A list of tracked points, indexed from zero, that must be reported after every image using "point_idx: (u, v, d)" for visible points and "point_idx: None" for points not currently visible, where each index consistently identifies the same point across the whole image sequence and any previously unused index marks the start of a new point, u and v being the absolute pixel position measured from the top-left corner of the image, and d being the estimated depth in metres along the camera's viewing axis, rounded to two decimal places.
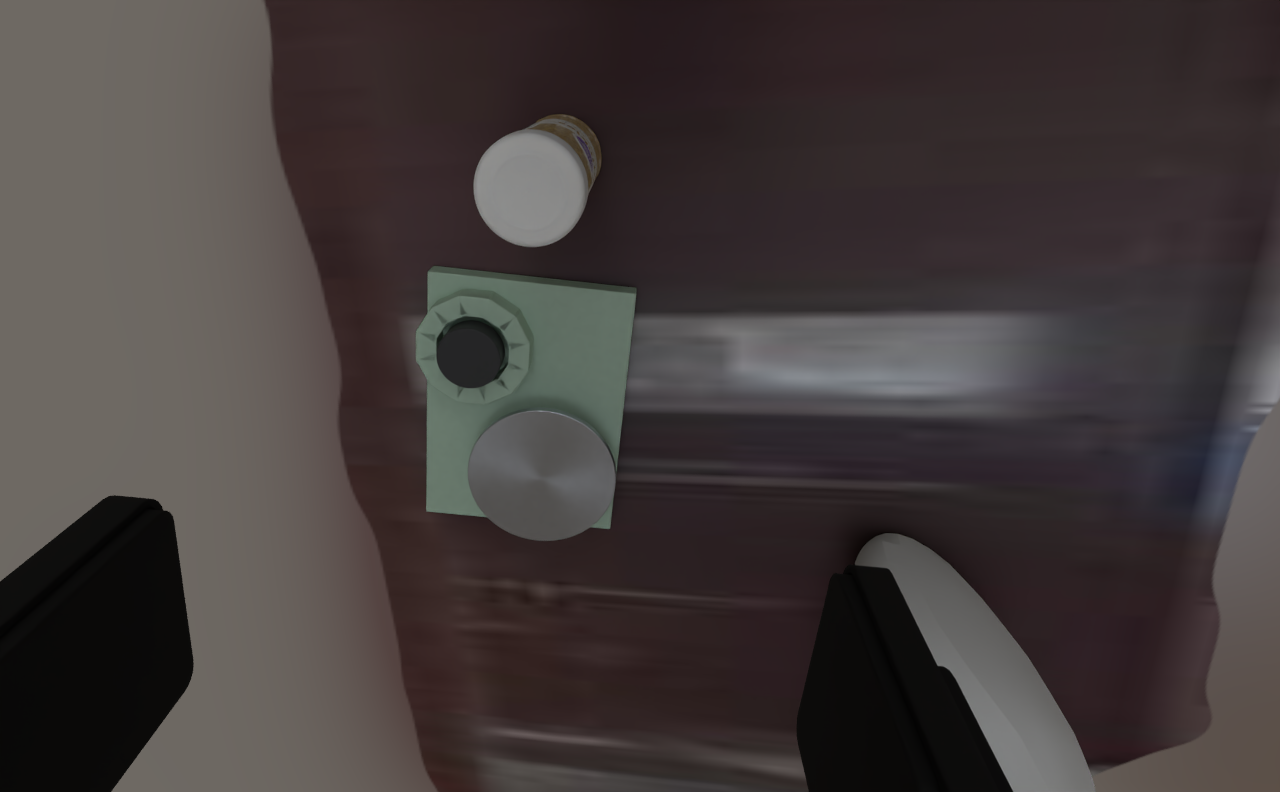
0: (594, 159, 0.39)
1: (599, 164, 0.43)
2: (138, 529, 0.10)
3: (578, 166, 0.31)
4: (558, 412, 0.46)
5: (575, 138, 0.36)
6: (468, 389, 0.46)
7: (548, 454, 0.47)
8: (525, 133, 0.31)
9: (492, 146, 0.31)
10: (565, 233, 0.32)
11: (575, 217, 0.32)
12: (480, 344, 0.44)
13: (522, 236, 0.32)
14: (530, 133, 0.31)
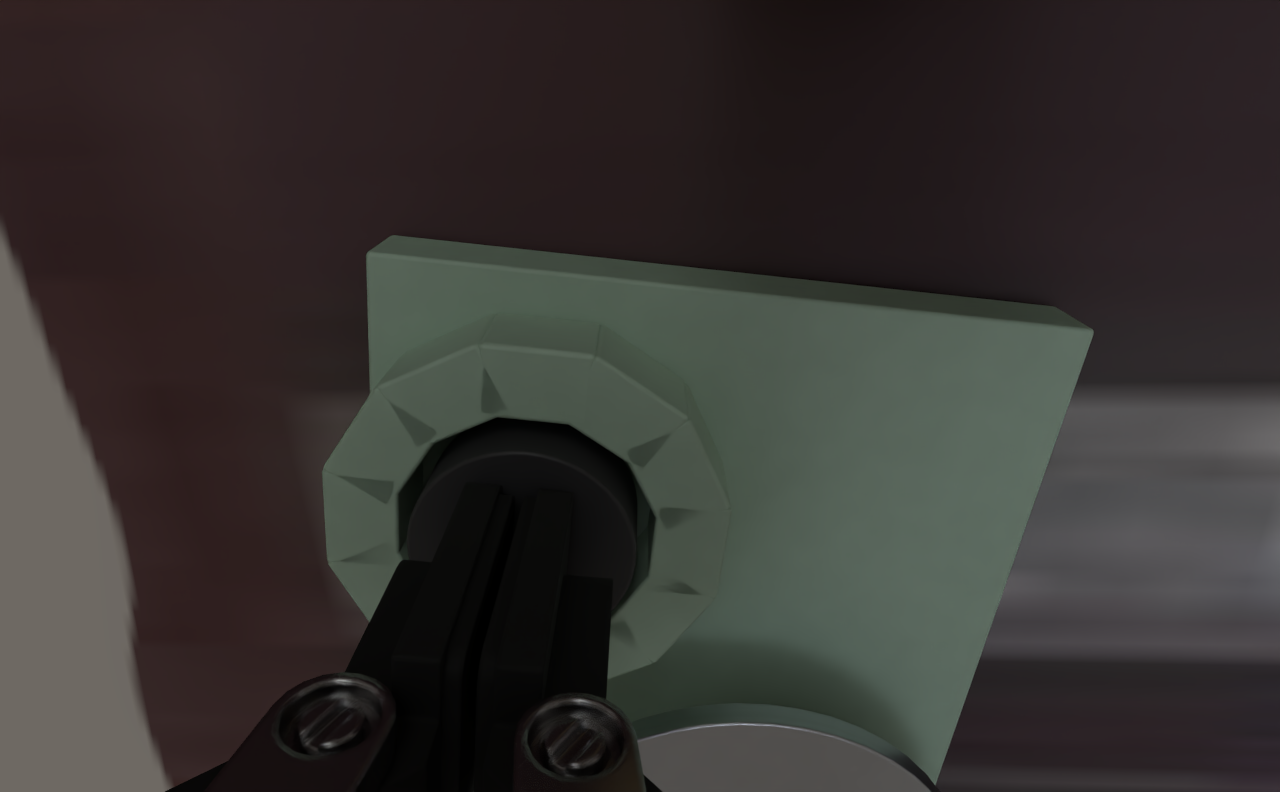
0: None
1: None
2: (504, 511, 0.11)
3: None
4: (810, 726, 0.14)
5: None
6: None
7: None
8: None
9: None
10: None
11: None
12: None
13: None
14: None
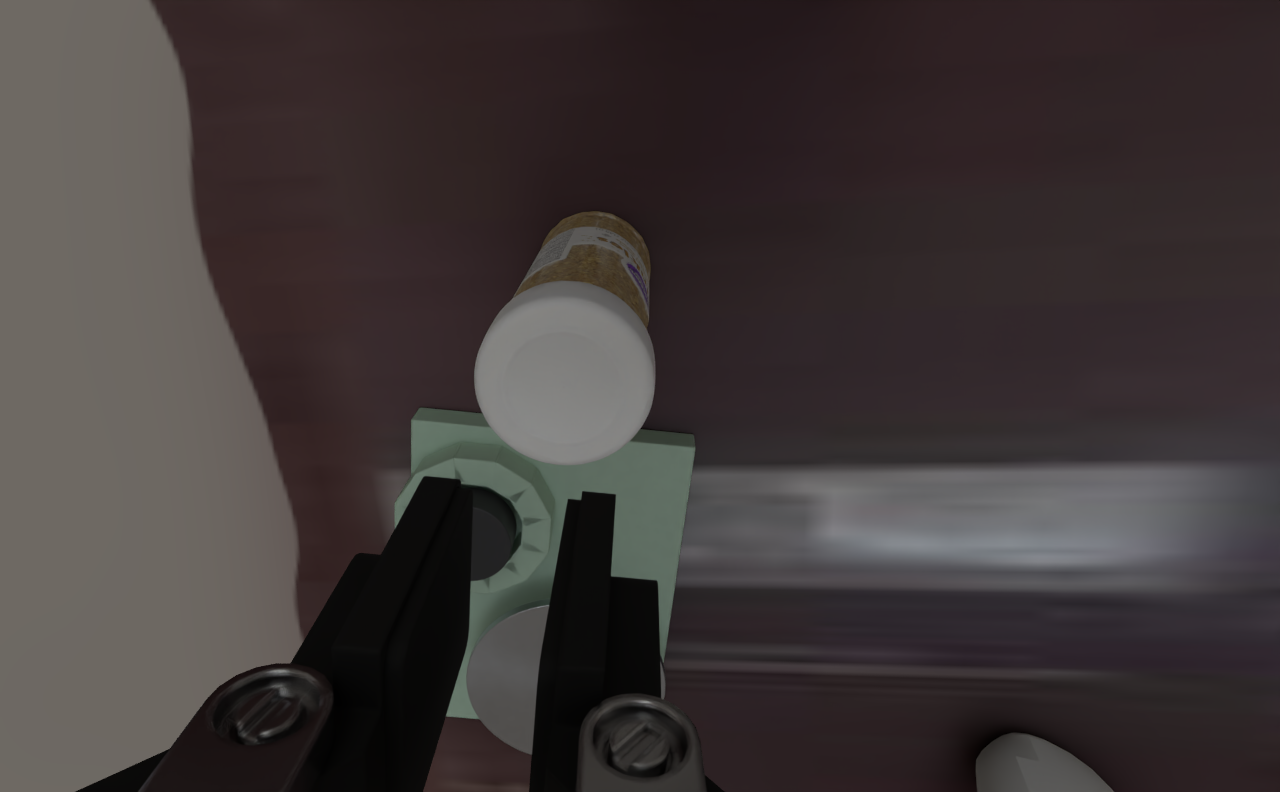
0: (648, 286, 0.27)
1: (648, 278, 0.31)
2: (460, 504, 0.11)
3: (644, 347, 0.19)
4: None
5: (626, 270, 0.24)
6: None
7: None
8: (559, 297, 0.19)
9: (505, 318, 0.19)
10: (621, 446, 0.20)
11: (638, 424, 0.20)
12: (483, 526, 0.32)
13: (552, 452, 0.20)
14: (567, 297, 0.19)
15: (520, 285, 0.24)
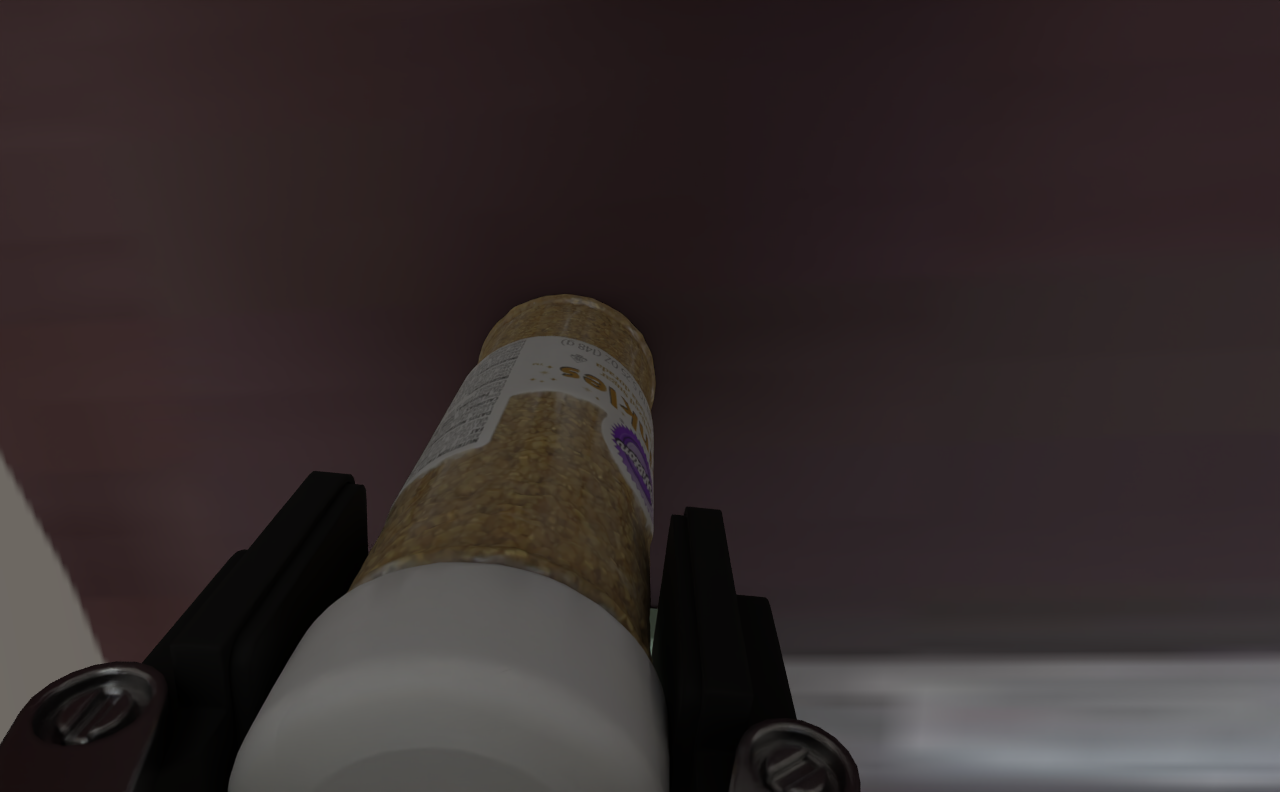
0: (651, 443, 0.16)
1: (651, 399, 0.20)
2: (346, 500, 0.11)
3: (645, 760, 0.08)
4: None
5: (610, 451, 0.13)
6: None
7: None
8: (423, 660, 0.07)
9: (287, 704, 0.07)
10: None
11: None
12: None
13: None
14: (445, 660, 0.07)
15: (401, 490, 0.12)
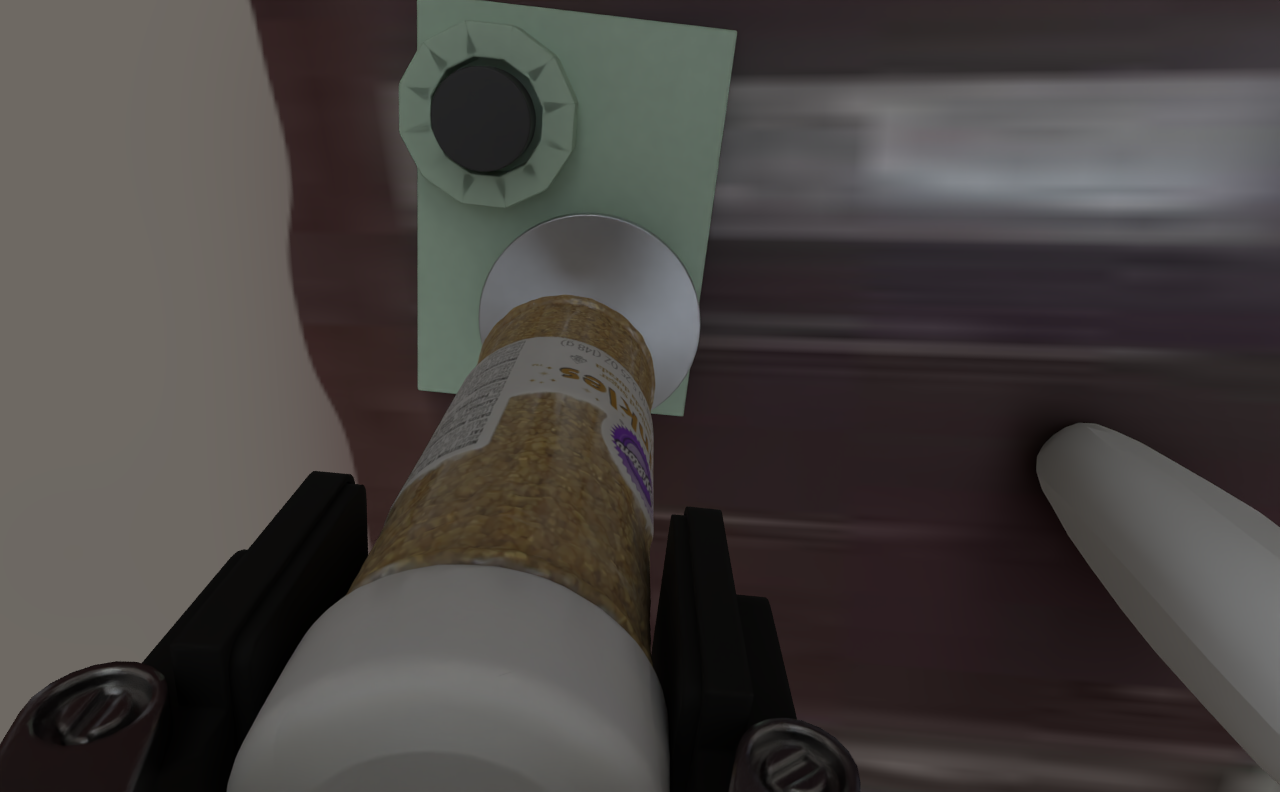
0: (651, 444, 0.16)
1: (651, 400, 0.20)
2: (346, 500, 0.11)
3: (645, 763, 0.08)
4: (617, 218, 0.30)
5: (610, 452, 0.13)
6: (479, 182, 0.30)
7: (601, 286, 0.31)
8: (423, 663, 0.07)
9: (286, 708, 0.07)
10: None
11: None
12: (499, 94, 0.28)
13: None
14: (444, 663, 0.07)
15: (401, 491, 0.12)
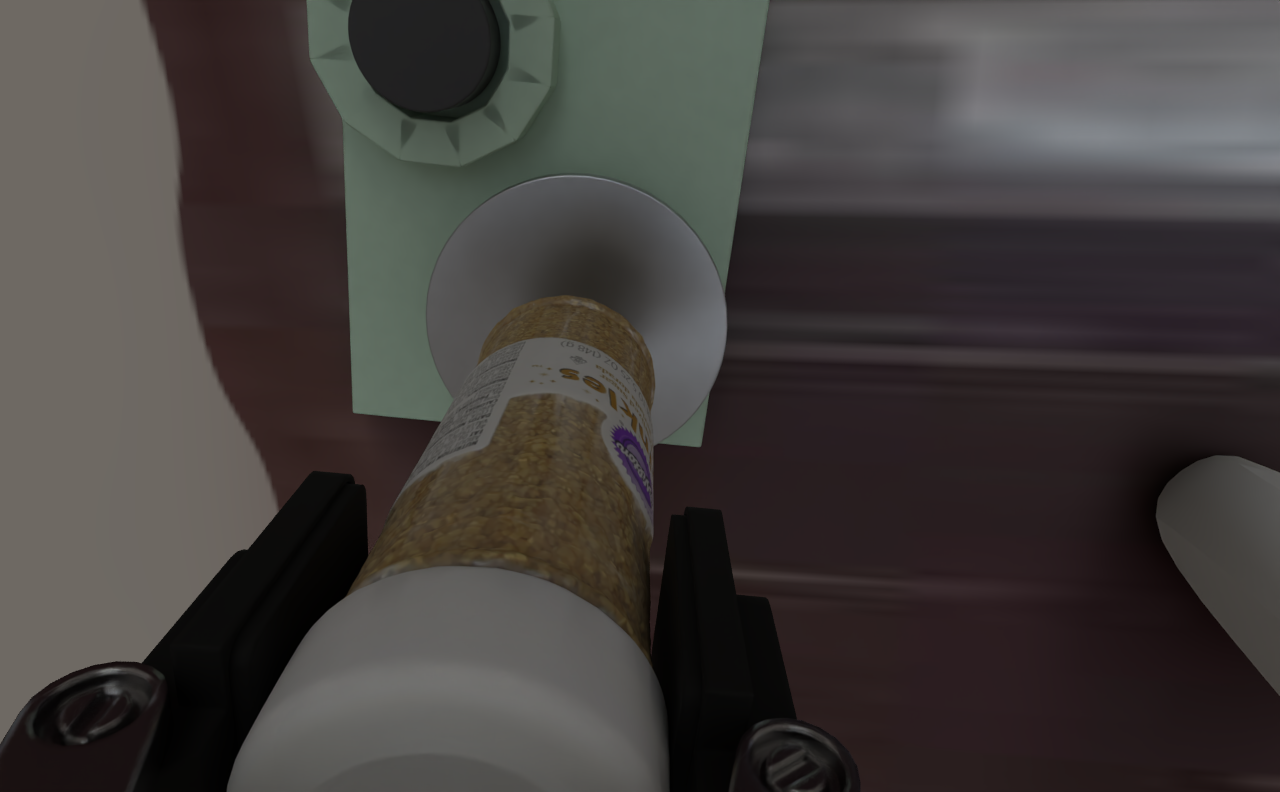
0: (651, 445, 0.16)
1: (651, 400, 0.20)
2: (346, 500, 0.11)
3: (645, 765, 0.08)
4: (614, 180, 0.22)
5: (610, 453, 0.13)
6: (424, 131, 0.22)
7: (592, 275, 0.23)
8: (422, 665, 0.07)
9: (285, 710, 0.07)
10: None
11: None
12: None
13: None
14: (444, 665, 0.07)
15: (401, 493, 0.12)
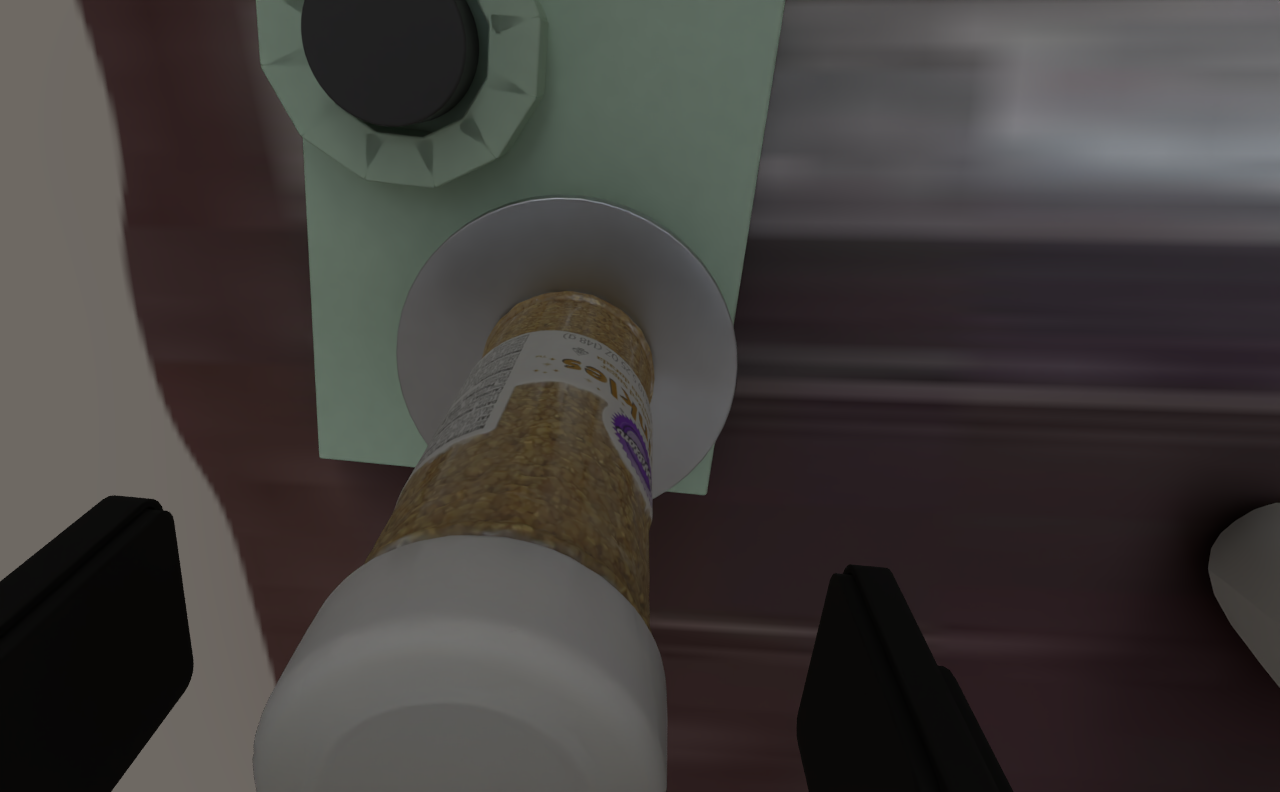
0: (650, 433, 0.16)
1: (650, 393, 0.20)
2: (138, 529, 0.10)
3: (644, 717, 0.08)
4: (608, 203, 0.19)
5: (611, 438, 0.13)
6: (392, 147, 0.19)
7: None
8: (438, 621, 0.08)
9: (310, 663, 0.08)
10: None
11: None
12: None
13: None
14: (458, 621, 0.08)
15: (411, 474, 0.13)
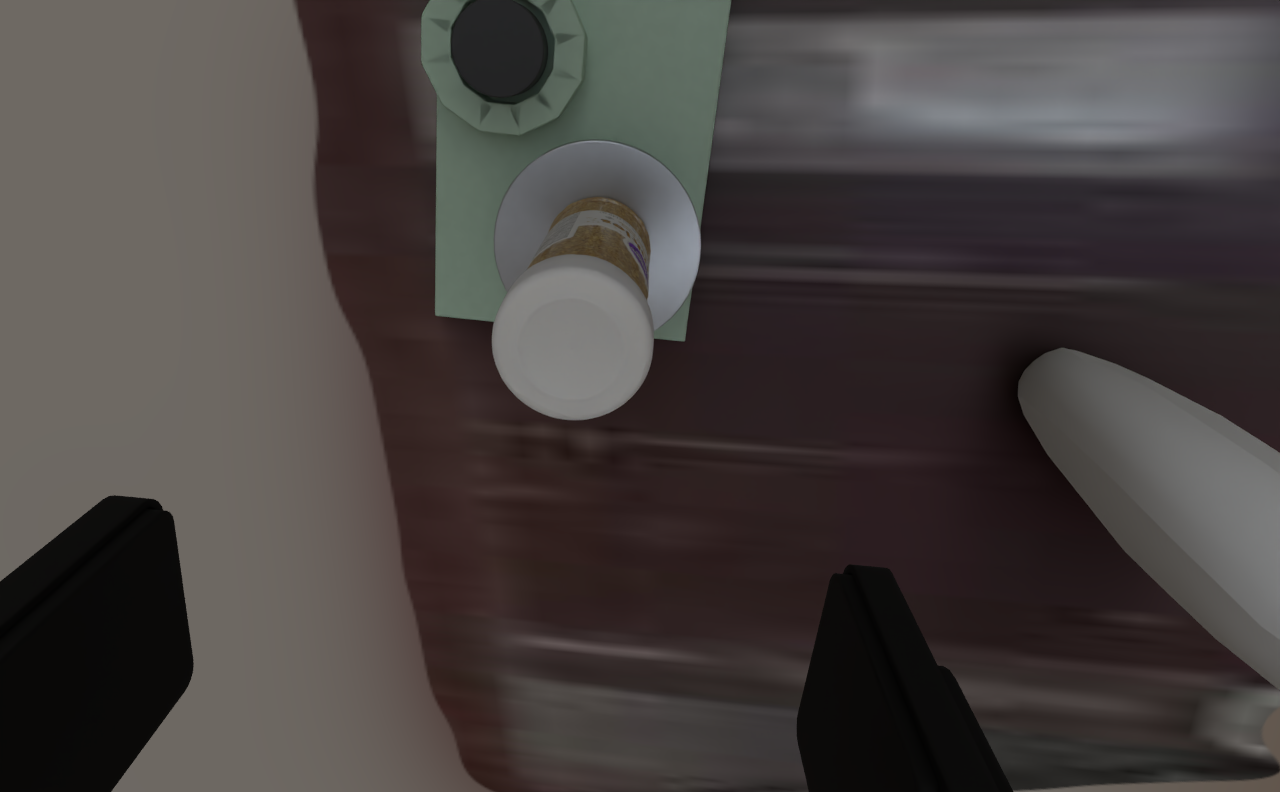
0: (647, 265, 0.30)
1: (648, 260, 0.34)
2: (138, 529, 0.10)
3: (644, 312, 0.22)
4: (623, 144, 0.33)
5: (628, 248, 0.27)
6: (495, 110, 0.32)
7: None
8: (568, 267, 0.21)
9: (520, 286, 0.21)
10: (623, 403, 0.23)
11: (638, 382, 0.22)
12: (515, 23, 0.30)
13: (561, 407, 0.22)
14: (575, 267, 0.21)
15: (531, 261, 0.26)
